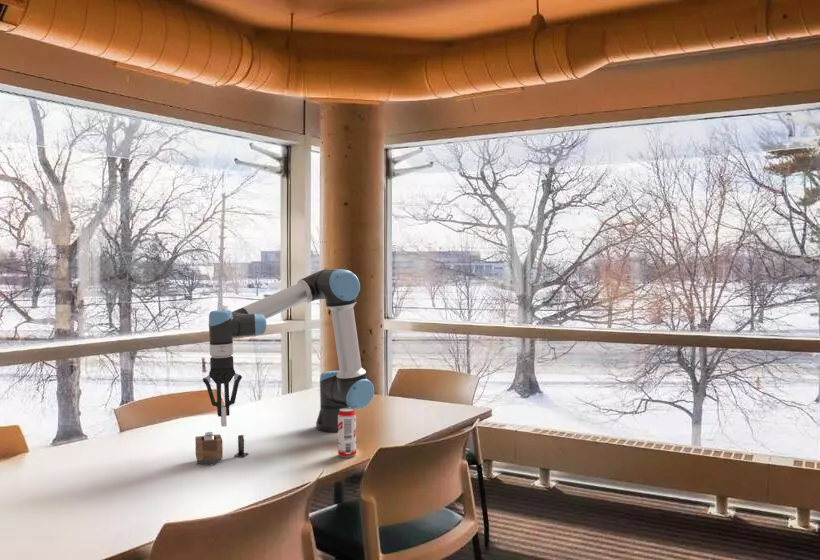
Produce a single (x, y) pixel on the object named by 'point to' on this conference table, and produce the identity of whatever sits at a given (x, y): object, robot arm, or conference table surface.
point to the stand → (241, 447)
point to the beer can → (347, 432)
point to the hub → (211, 461)
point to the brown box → (209, 448)
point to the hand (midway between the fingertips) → (223, 425)
